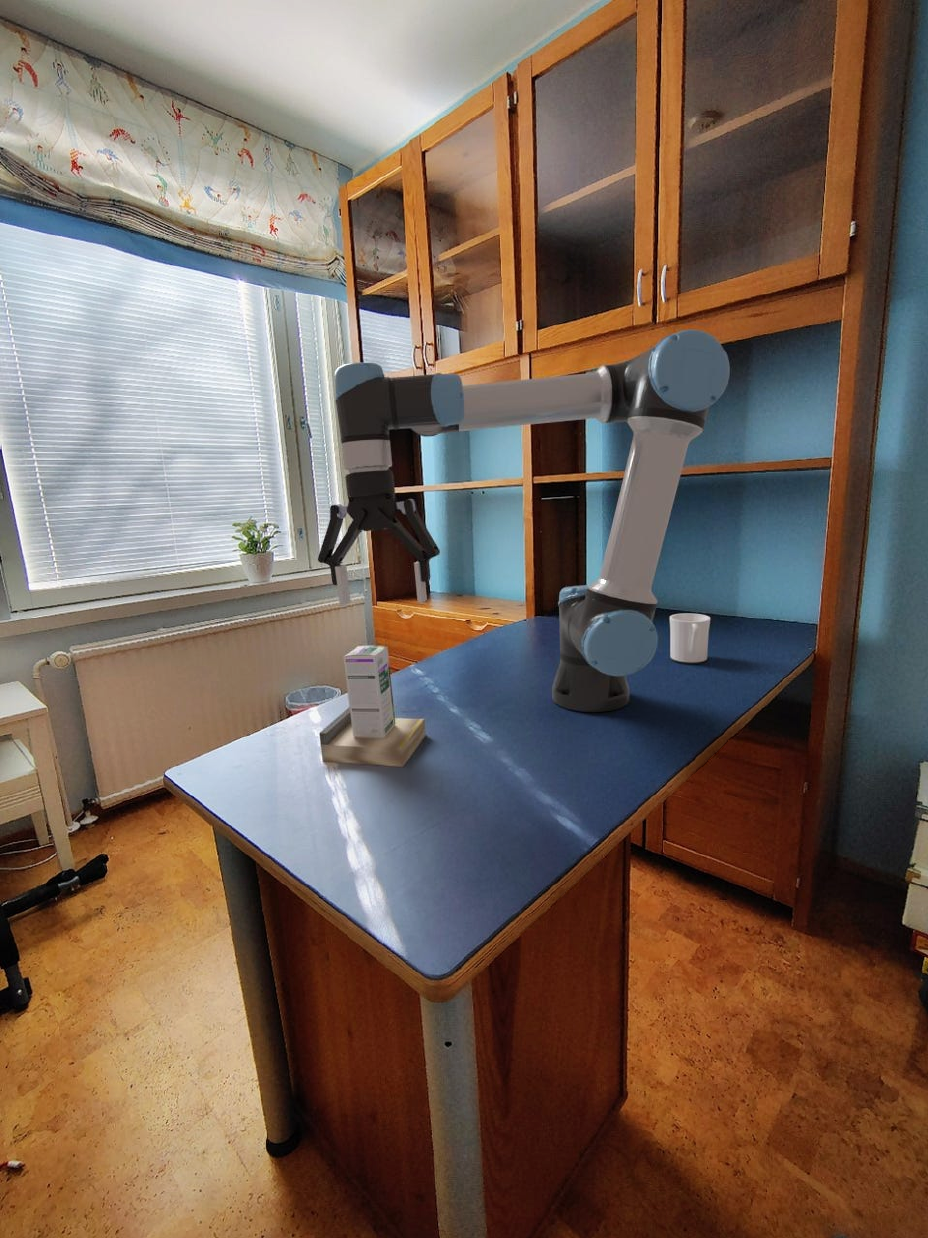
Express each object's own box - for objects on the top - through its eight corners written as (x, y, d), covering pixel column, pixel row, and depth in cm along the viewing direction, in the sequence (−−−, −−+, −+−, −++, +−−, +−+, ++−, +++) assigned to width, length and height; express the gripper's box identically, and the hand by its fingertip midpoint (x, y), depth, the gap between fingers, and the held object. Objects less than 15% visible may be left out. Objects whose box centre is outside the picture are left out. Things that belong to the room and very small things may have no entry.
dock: (425, 735, 102) (423, 708, 101) (402, 766, 91) (400, 737, 90) (353, 731, 106) (350, 705, 104) (322, 761, 94) (319, 733, 93)
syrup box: (385, 739, 94) (377, 654, 91) (351, 738, 95) (342, 654, 92) (396, 725, 100) (389, 645, 96) (364, 724, 101) (356, 644, 98)
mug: (665, 654, 141) (666, 613, 139) (703, 654, 140) (704, 612, 137) (674, 668, 130) (676, 624, 128) (715, 667, 129) (717, 623, 127)
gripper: (451, 464, 91) (461, 595, 95) (308, 477, 97) (324, 600, 101) (438, 463, 84) (450, 605, 88) (285, 477, 89) (303, 609, 94)
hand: (383, 603), depth 95 cm, fingers open, 13 cm apart
